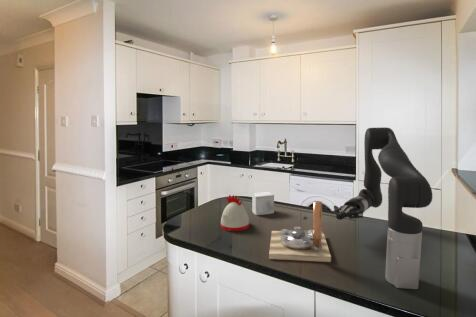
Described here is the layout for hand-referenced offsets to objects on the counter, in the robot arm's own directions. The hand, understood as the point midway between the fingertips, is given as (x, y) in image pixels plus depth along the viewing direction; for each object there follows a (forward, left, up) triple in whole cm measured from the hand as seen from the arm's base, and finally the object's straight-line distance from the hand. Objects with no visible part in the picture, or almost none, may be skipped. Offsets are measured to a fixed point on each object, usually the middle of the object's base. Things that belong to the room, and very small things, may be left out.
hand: (338, 217), depth 119 cm
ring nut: (-5, +14, -10) cm, 18 cm away
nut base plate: (-3, +16, -12) cm, 20 cm away
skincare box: (+38, +33, -12) cm, 52 cm away
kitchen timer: (+18, +45, -12) cm, 50 cm away
